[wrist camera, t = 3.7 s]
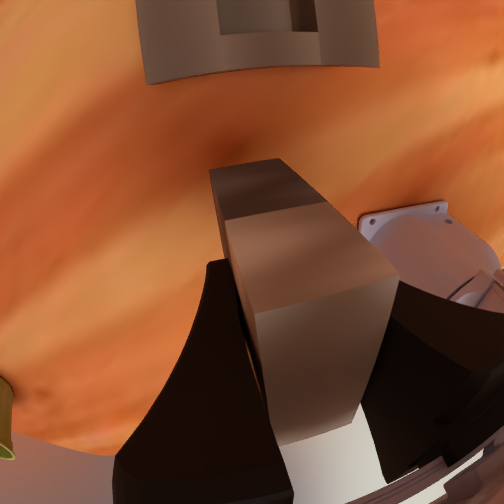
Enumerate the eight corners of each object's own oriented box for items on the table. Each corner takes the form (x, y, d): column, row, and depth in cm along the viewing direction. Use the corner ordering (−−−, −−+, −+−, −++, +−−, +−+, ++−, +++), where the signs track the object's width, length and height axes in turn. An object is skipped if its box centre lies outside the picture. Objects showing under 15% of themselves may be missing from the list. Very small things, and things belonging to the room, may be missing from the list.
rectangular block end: (278, 157, 10) (400, 274, 5) (287, 288, 14) (351, 423, 8) (208, 169, 10) (254, 313, 4) (233, 300, 13) (274, 447, 8)
